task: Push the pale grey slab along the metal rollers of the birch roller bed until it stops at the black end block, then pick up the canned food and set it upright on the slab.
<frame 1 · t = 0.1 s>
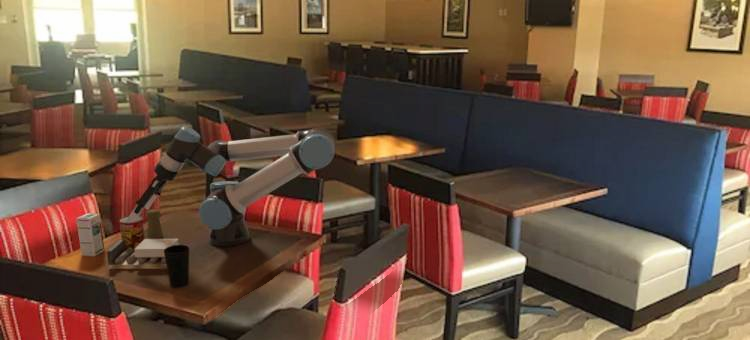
hand: (138, 213, 220), 15 cm above the table, tool tilted 35°, fingers open, 13 cm apart
roller bed: (147, 262, 216), on the table
canned food: (134, 250, 227), on the table
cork: (155, 237, 241), on the table
slab: (157, 247, 215), point 5 cm above the table, slide at 0.0 cm
syrup box: (93, 253, 224), on the table
cup: (179, 284, 198), on the table
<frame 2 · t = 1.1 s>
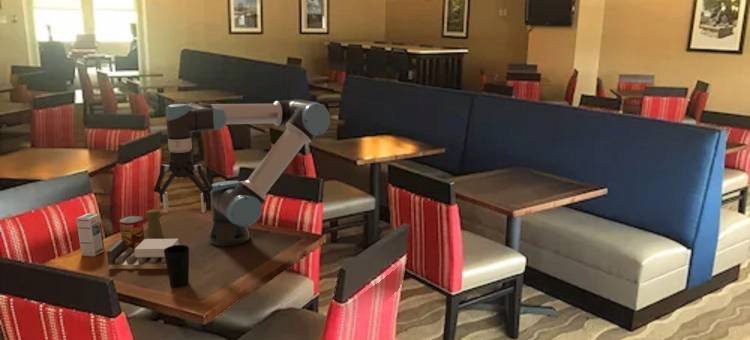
hand: (185, 211, 212), 18 cm above the table, tool pointing down, fingers open, 12 cm apart
nothing on the table moved.
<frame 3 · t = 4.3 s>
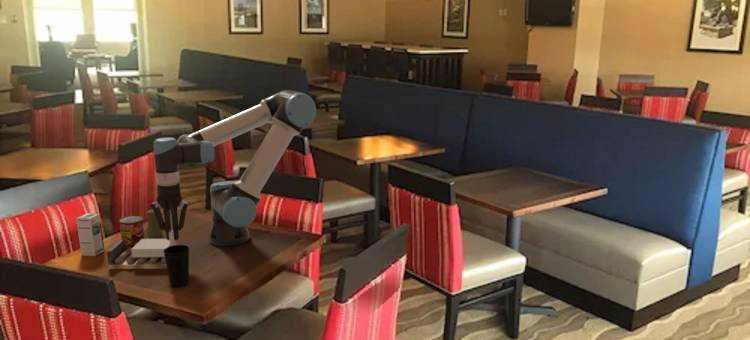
hand: (173, 248, 215), 5 cm above the table, tool pointing down, fingers closed
slab: (154, 247, 215), point 5 cm above the table, slide at 1.1 cm, touching gripper
everything else where it was.
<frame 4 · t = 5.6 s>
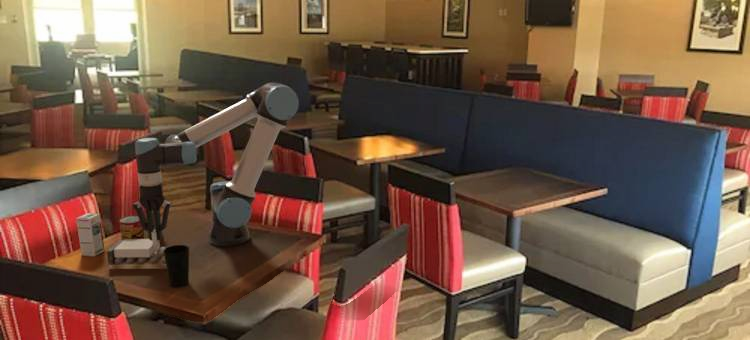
hand: (156, 248, 215), 5 cm above the table, tool pointing down, fingers closed
slab: (137, 247, 215), point 5 cm above the table, slide at 7.0 cm, touching gripper
everything else where it was.
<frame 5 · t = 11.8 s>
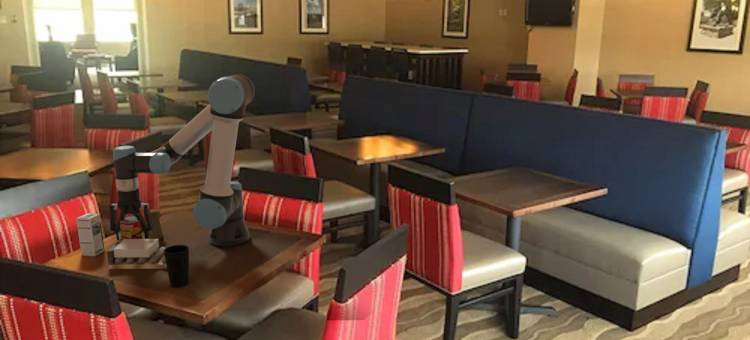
hand: (134, 248, 227), 1 cm above the table, tool pointing down, fingers closed on canned food, 8 cm apart
canned food: (134, 250, 227), on the table, touching gripper
slab: (136, 247, 215), point 5 cm above the table, slide at 7.2 cm
everything else where it was.
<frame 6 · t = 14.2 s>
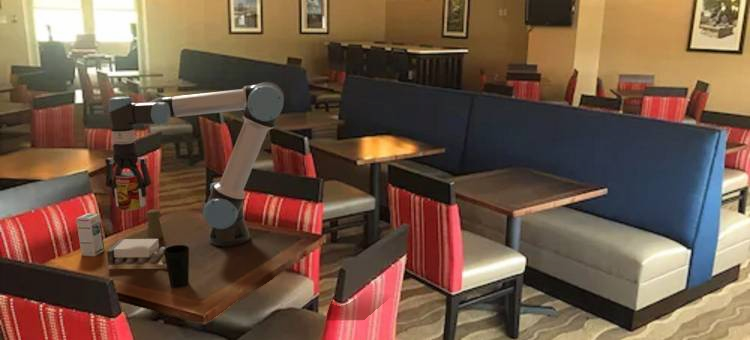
hand: (130, 205, 217), 19 cm above the table, tool pointing down, fingers closed on canned food, 8 cm apart
canned food: (131, 207, 217), point 18 cm above the table, touching gripper
everything else where it was.
when the fingers open (9 cm above the table, at t = 16.9 s): canned food drops 1 cm, resting on slab.
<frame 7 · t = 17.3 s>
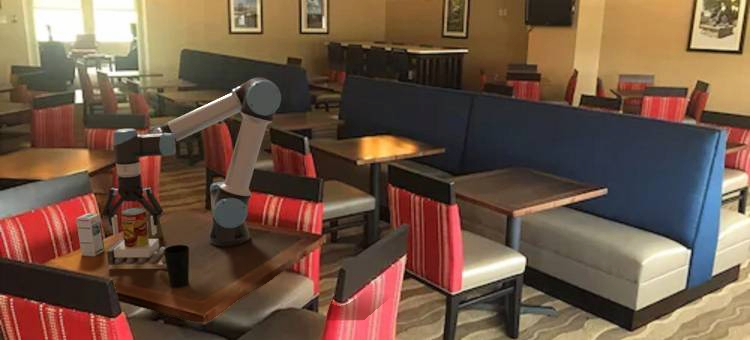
hand: (135, 234, 213), 10 cm above the table, tool pointing down, fingers open, 13 cm apart
canned food: (136, 244, 214), point 7 cm above the table, touching slab
slab: (136, 247, 215), point 5 cm above the table, slide at 7.2 cm, touching canned food
everything else where it was.
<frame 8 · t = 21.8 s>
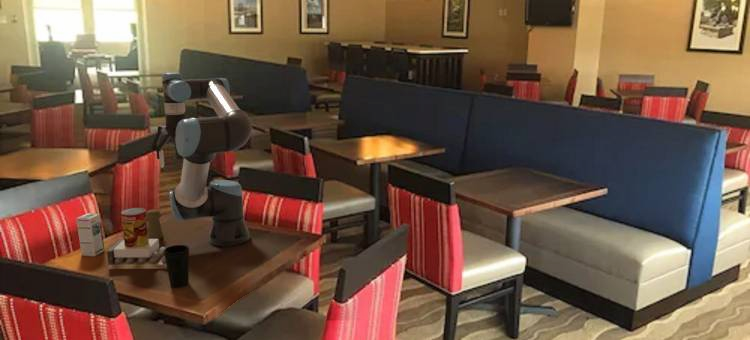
hand: (179, 167, 241), 27 cm above the table, tool pointing down, fingers open, 13 cm apart
nothing on the table moved.
at the end: slab slide at 7.2 cm; canned food 0.2 cm from the target spot, point 6.6 cm above the table; canned food tilted 0° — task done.
